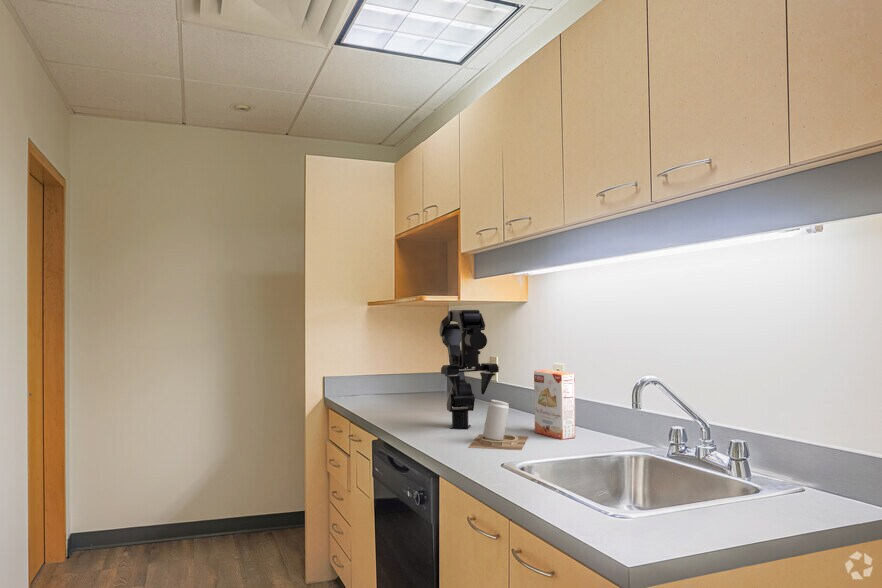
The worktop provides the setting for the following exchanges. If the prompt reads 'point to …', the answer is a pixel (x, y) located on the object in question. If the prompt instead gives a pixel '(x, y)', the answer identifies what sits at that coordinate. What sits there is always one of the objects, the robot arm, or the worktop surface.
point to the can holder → (500, 442)
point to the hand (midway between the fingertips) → (470, 395)
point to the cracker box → (554, 403)
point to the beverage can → (496, 420)
